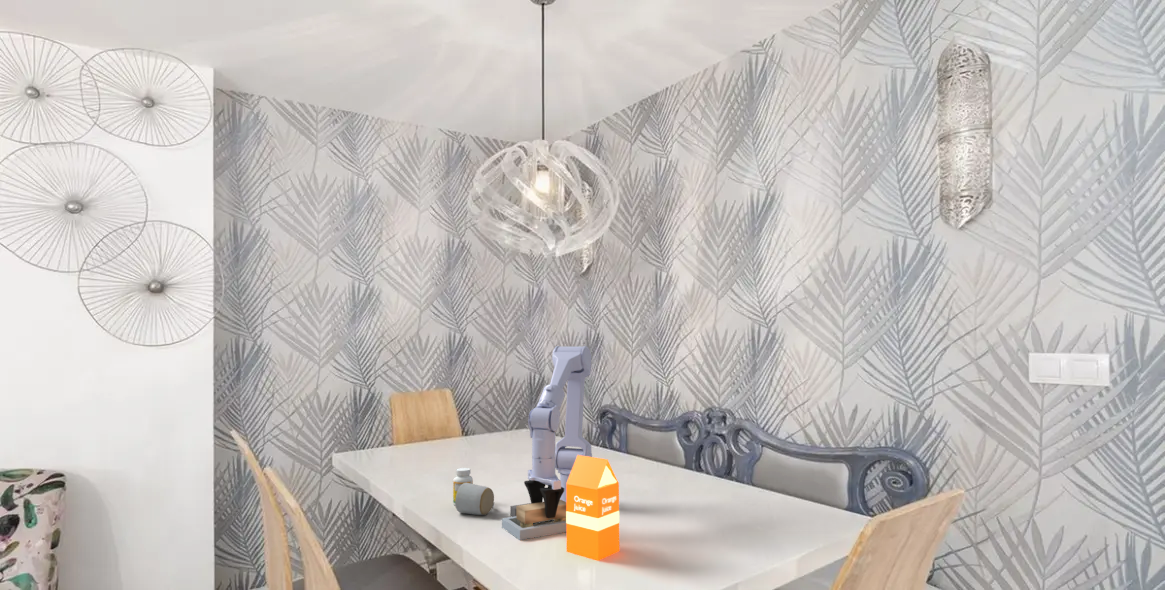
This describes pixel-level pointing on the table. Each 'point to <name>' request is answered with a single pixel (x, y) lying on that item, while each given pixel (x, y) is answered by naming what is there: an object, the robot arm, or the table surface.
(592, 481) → the orange juice
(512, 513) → the gray rectangular block
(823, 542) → the table surface
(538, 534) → the peg frame
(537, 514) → the tan rectangular block
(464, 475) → the supplement bottle
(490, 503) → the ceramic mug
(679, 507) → the table surface
